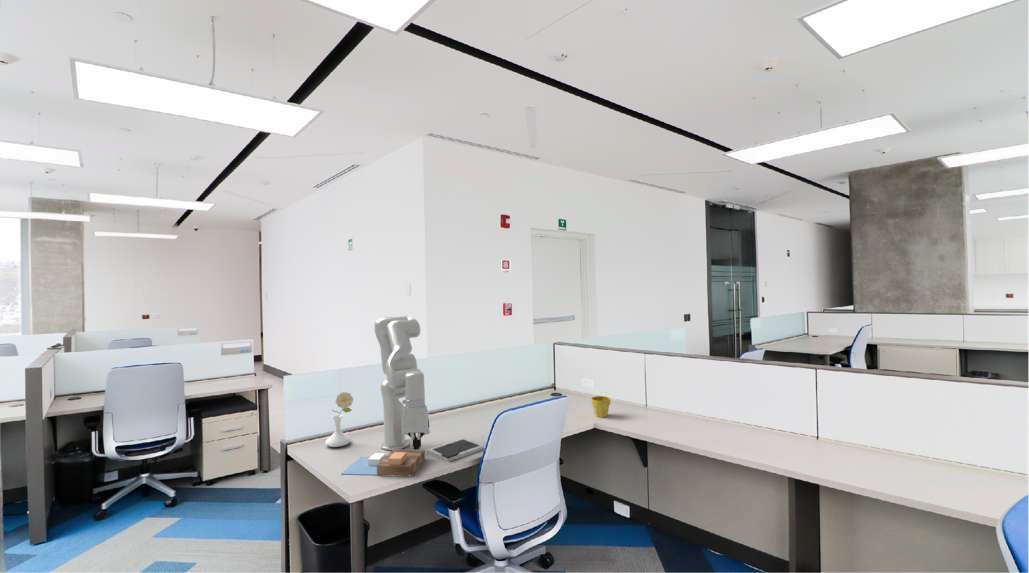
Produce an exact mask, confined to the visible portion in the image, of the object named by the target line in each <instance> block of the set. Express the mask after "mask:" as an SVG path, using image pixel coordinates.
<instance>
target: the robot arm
mask: <svg viewBox="0 0 1029 573" xmlns="http://www.w3.org/2000/svg"><path fill="white" fill-rule="evenodd" d="M374 333H375V337H376V339H377V341H378V345H379V347H380V348H379V349H380V357H381V367H382V373H383V374H384V375H386V379H385V380H383V381H382V383H381V384H380V392H381V396H382V397H381V398H382V406H383V407H382V408H383V433H384V434H383V435H384V436H383V440H384V441H383V442H381V444H380V448H381V449H383V450H385V451H392V450H393V449H404V448H407V447H408V446H409V445H410V441H409V440H408V439H406V436H408V437H409V438H410V439H411V441H412V448H413V450H420V448H421V447H422V438H423V436H426V435H429V434H430V433H431V431H430V417H429V411H428V406H427V405H426V400H425V399H426V398H425V397H426V396H425V395H426V394H425V375H424V372H422V371H421V369H419V368H418V363H417V362H418V361H417V359H416V357H415V355H414V354H413V353H411V352H412V350H413V347H412V344H411V339H413V338H418V337H419V336H420V334H421V325H420V323H419V322H418V320H417V319H416V318H414V317H412V316H408V315H407V316H406V315H405V316H404V315H403V316H390V317H389V316H387V317H381V318H378V319H377V320H375V322H374ZM403 398H405V399H403ZM400 399H403V400H401V401H402V402H401V401H400ZM404 405H405V406H404Z"/></svg>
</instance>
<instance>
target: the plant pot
mask: <svg viewBox="0 0 1029 573" xmlns="http://www.w3.org/2000/svg"><path fill="white" fill-rule="evenodd" d="M590 402H591V406H592V409H593V413H594V417H596V418H606V417H608V414H609V407H610V406H611V398H610V397H608V396H606V395H605V396H604V395H597V396H596V395H595V396H592V397H591V399H590Z"/></svg>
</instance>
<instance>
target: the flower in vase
mask: <svg viewBox="0 0 1029 573" xmlns="http://www.w3.org/2000/svg"><path fill="white" fill-rule="evenodd" d="M353 400H354V397H353V395H351V392H347V391H345V392H344V391H343V392H340V394H337V395H336V398H335V404H336V405H337V407H338V408H341V410H340V411H337V410H333V409H331V411H332V412H334V413H337V414H334V415H331V418H332V419H333V422H334V431H333V433H332V434H331V435H330V436H329V437H328V438H327V439H326V440H325V446H327V447H331V448H337V447H343V446H346V445H347V444H349V443H350V442H351V441H352V439H351V437H350V436H349V435H348V434H345V433H344V432H343V431H342V429H341V421H342V418H343V417H344V415H343V414H341V413H342V411H343V412H344V413H345V414H346V413H350V412H352V409H351V408H350V407H351V406H352V404H353V402H354V401H353Z"/></svg>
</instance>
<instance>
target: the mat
mask: <svg viewBox="0 0 1029 573" xmlns="http://www.w3.org/2000/svg"><path fill="white" fill-rule="evenodd" d="M370 457H371V456H359V458H358V459H357V460H355V461H354V462H353V463H351V464H350V465H349V466H348V467H347V468H346V469H345V470H344V471H343V472H341V475H347V474H348V475H347V476H349V475H351V476H378V475H377V465H368V459H369V458H370Z"/></svg>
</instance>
